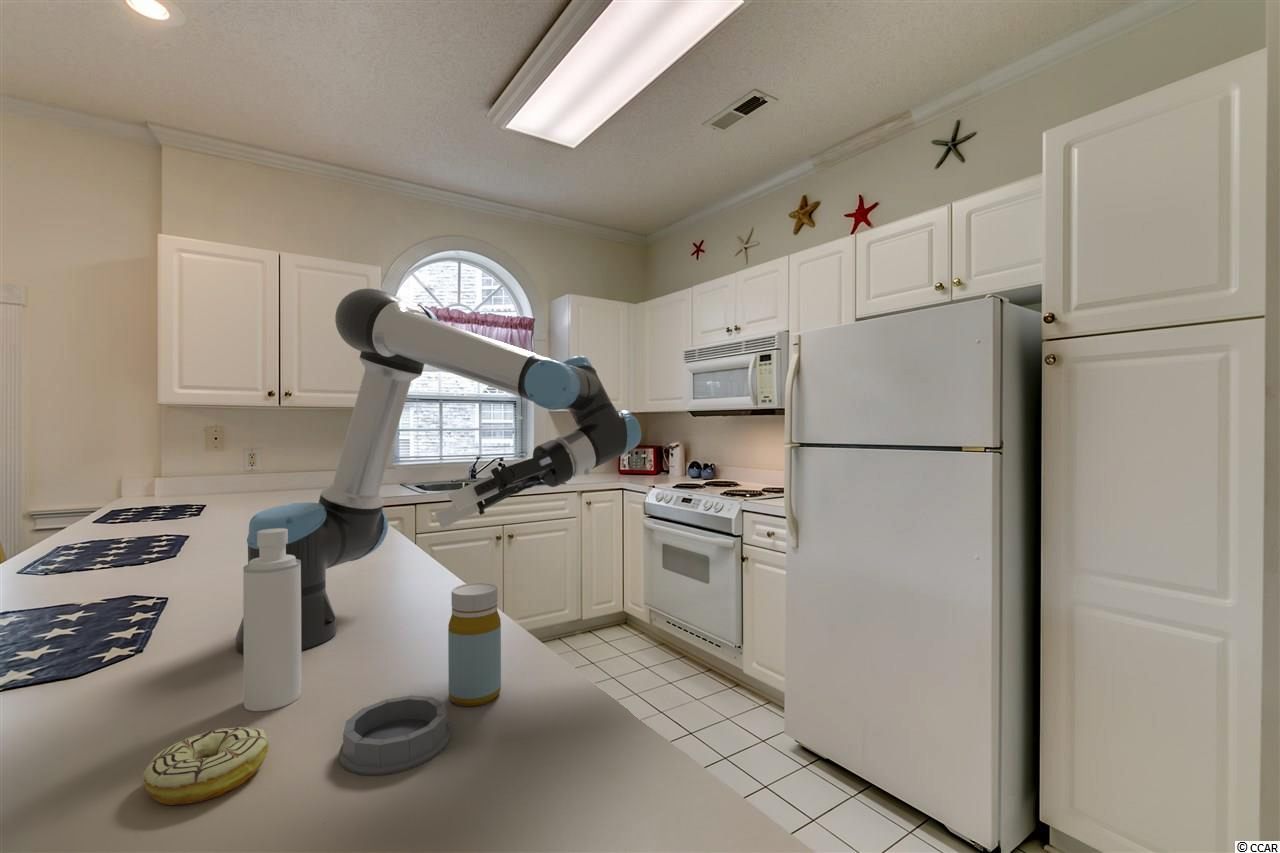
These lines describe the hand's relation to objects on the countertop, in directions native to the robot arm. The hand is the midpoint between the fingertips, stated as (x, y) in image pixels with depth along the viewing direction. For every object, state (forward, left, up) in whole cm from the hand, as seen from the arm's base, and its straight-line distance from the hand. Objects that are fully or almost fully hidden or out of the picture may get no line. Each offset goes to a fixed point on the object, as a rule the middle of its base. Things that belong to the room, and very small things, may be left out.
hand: (445, 512), depth 86 cm
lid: (+12, -14, -25) cm, 31 cm away
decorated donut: (+2, -30, -25) cm, 39 cm away
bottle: (+9, -1, -25) cm, 27 cm away
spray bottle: (-12, -19, -25) cm, 34 cm away
